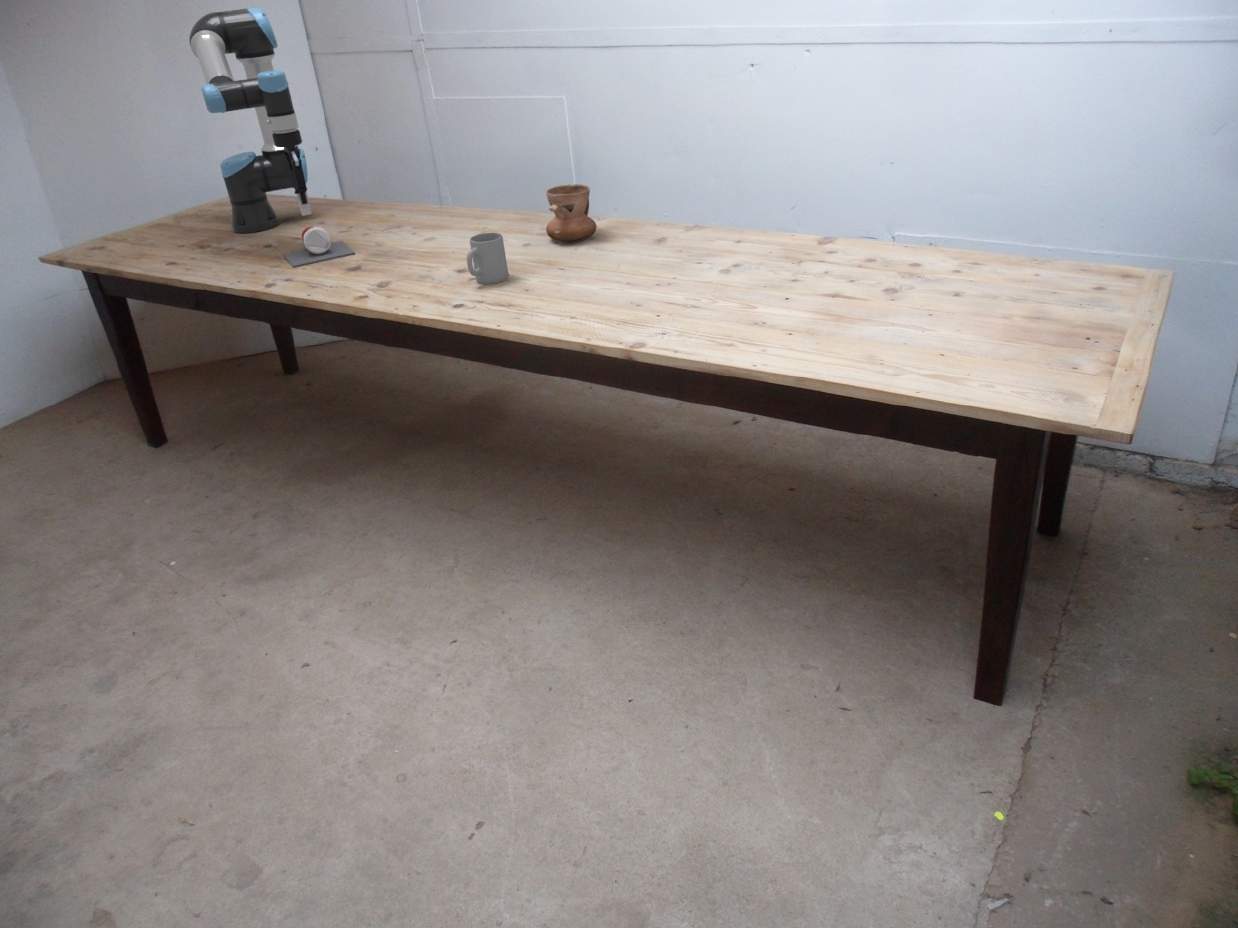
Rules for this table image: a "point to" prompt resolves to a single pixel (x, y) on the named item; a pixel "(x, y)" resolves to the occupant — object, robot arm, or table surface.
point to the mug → (487, 258)
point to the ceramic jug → (570, 213)
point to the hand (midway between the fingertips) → (306, 214)
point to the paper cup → (316, 239)
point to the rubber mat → (308, 257)
